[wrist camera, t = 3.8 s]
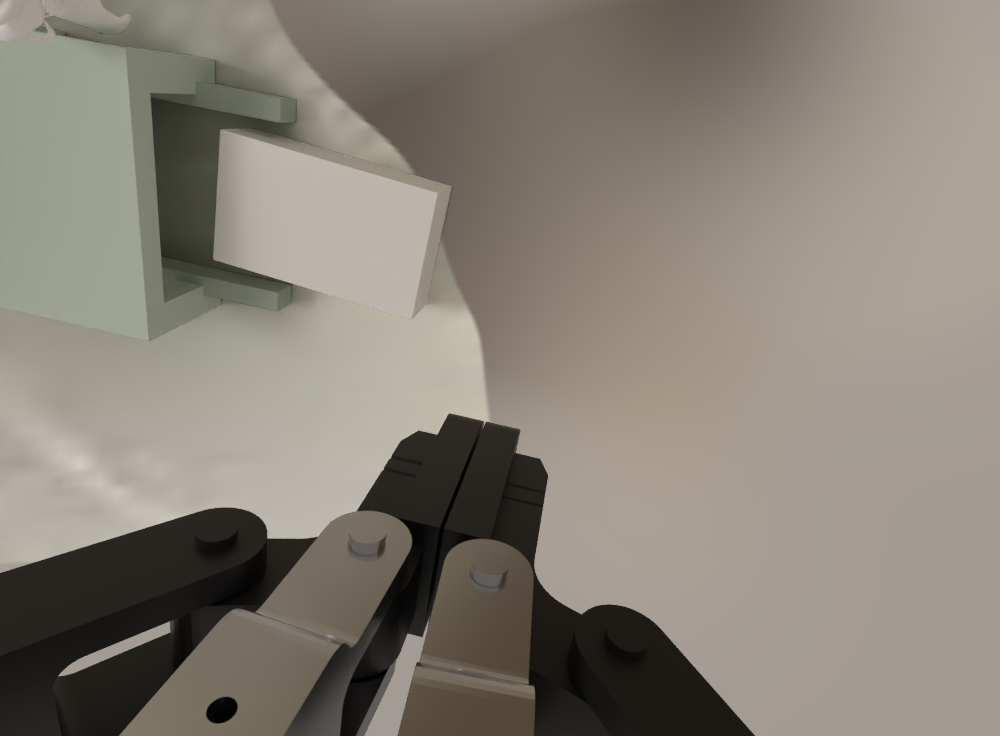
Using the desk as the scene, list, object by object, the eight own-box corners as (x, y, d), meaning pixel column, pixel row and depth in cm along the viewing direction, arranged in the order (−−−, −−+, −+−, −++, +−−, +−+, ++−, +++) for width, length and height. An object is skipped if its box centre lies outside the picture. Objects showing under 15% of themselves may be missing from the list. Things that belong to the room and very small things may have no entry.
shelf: (36, 26, 29) (-91, 7, 23) (297, 75, 28) (225, 67, 22) (68, 271, 34) (-30, 300, 28) (290, 320, 32) (231, 360, 27)
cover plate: (256, 127, 29) (220, 129, 26) (453, 185, 29) (437, 193, 26) (246, 246, 32) (212, 259, 29) (428, 301, 31) (411, 319, 29)
